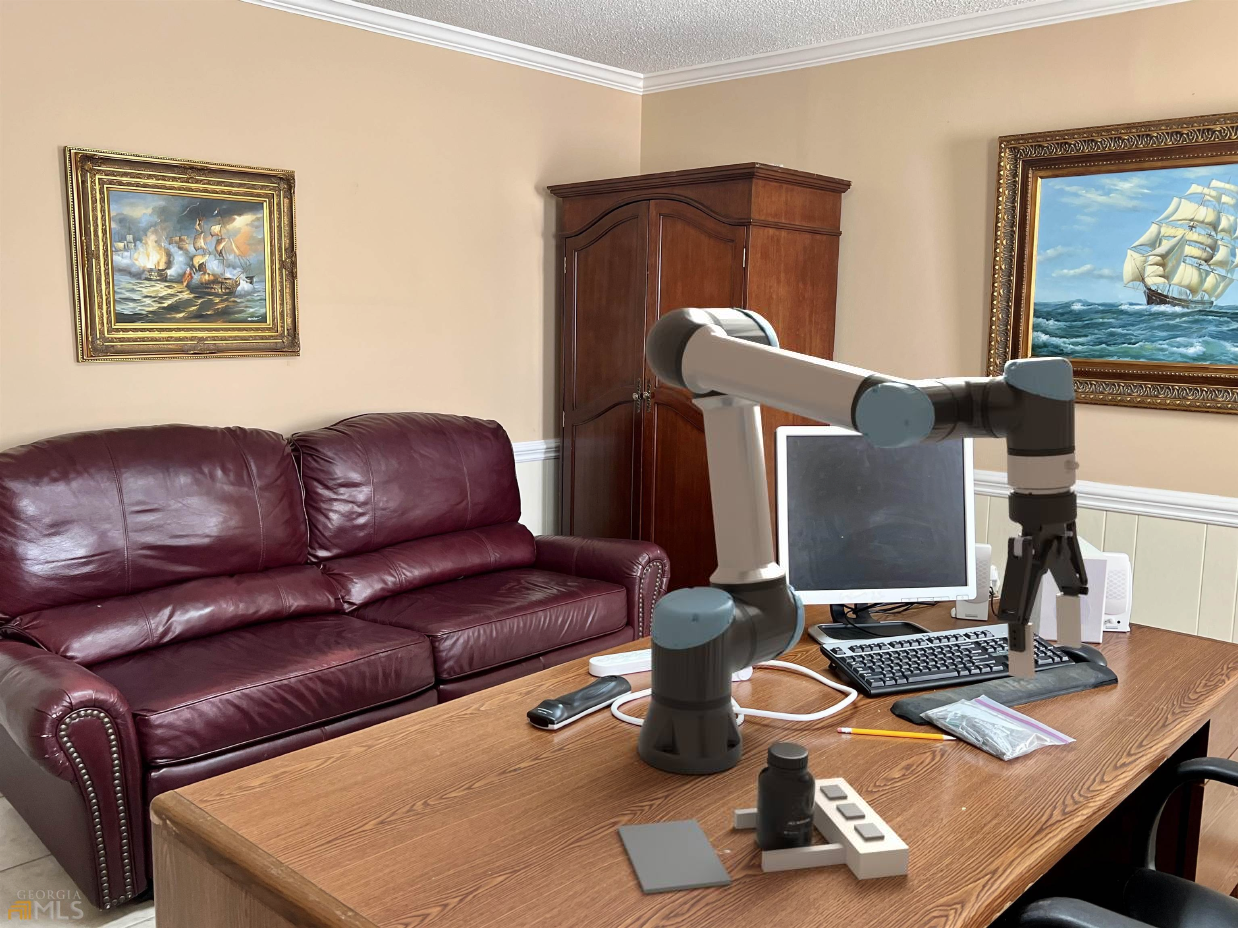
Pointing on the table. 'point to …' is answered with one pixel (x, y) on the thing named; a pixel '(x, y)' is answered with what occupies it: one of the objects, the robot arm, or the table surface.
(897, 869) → the power strip dock
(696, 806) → the table surface
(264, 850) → the table surface
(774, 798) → the supplement bottle
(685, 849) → the rubber mat
